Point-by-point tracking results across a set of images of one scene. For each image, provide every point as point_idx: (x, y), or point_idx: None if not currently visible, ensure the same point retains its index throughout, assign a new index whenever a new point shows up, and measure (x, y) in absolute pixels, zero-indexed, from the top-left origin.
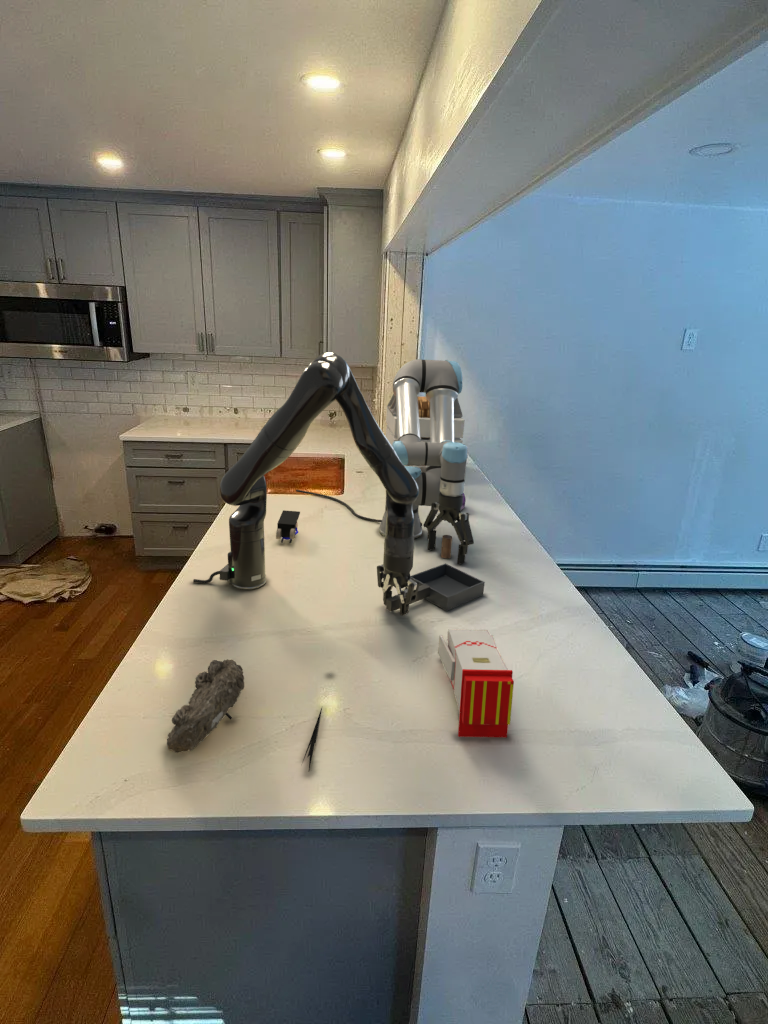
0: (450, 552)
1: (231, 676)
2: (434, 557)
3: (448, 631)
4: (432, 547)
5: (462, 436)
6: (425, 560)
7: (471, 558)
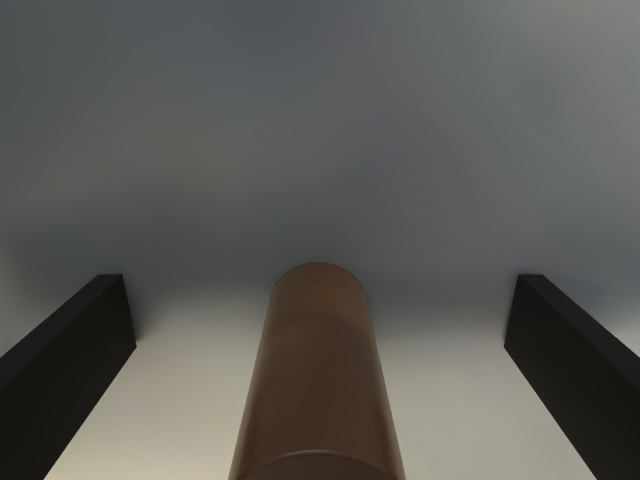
0: (373, 330)
1: None
2: None
3: None
4: (117, 323)
5: None
6: None
7: (528, 118)
